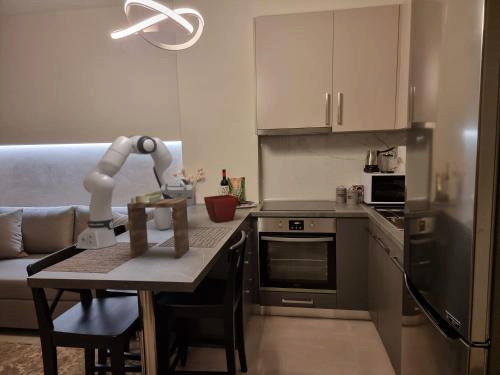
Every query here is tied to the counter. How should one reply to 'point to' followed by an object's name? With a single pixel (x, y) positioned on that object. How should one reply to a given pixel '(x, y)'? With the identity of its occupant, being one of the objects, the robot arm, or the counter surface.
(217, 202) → the plant pot
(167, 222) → the mug
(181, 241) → the walnut shelf
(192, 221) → the counter surface
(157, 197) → the sage channel
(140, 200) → the batten
